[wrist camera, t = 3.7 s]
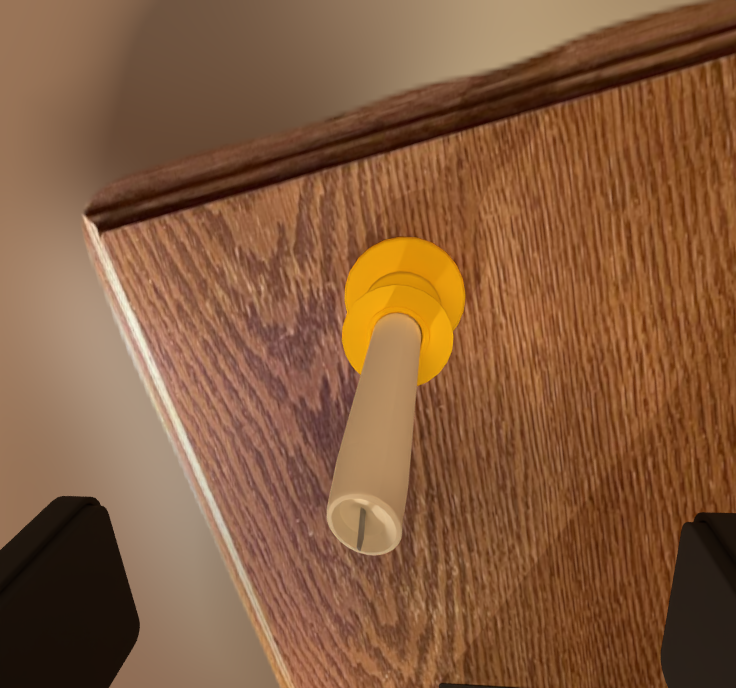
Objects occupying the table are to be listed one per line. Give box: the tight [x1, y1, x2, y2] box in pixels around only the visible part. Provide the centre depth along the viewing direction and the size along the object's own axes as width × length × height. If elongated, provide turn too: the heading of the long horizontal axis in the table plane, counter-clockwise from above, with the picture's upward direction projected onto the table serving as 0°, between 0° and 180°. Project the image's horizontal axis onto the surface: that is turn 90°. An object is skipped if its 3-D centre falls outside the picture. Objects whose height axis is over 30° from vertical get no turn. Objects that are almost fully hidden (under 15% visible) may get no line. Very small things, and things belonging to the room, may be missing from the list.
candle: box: [327, 236, 466, 555], centre depth 17 cm, size 5×5×16 cm
